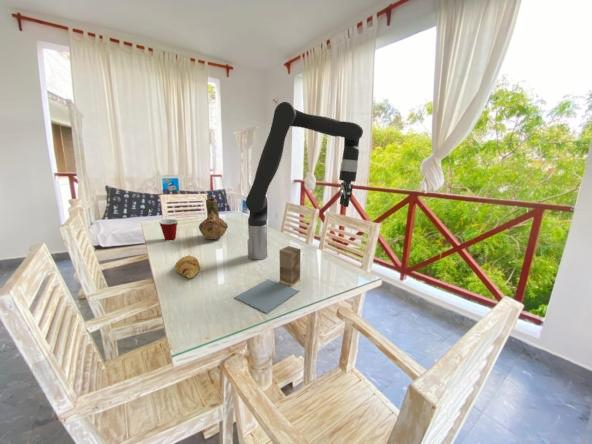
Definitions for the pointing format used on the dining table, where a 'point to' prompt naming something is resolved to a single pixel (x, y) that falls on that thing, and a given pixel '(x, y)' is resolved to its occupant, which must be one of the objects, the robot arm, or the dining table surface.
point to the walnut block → (290, 265)
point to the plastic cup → (169, 228)
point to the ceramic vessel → (213, 221)
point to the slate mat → (267, 295)
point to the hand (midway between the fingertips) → (343, 205)
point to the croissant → (187, 266)
